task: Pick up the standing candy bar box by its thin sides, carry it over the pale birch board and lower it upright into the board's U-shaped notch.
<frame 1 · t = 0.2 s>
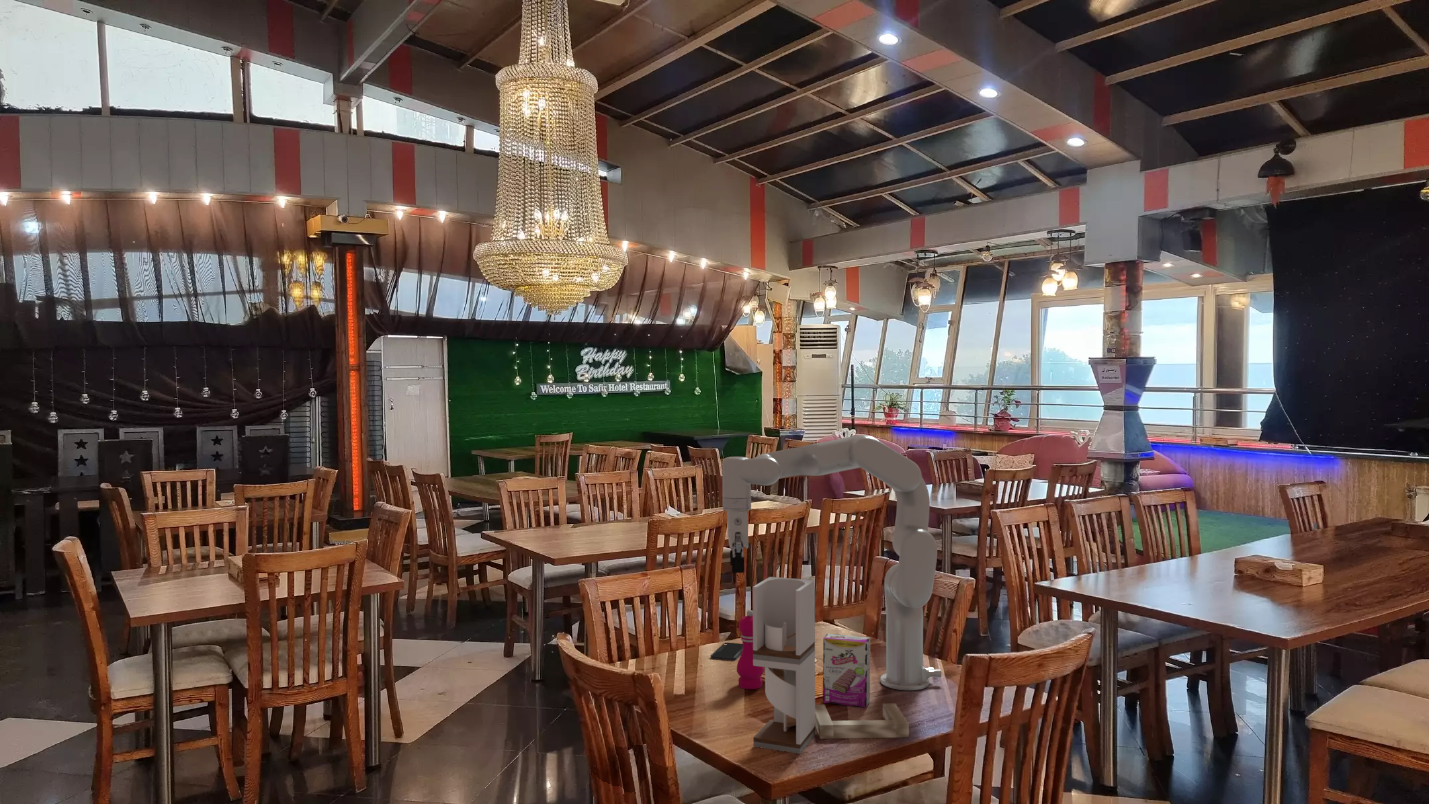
hand: (737, 568, 233), 31 cm above the table, tool pointing down, fingers open, 9 cm apart
pepper mill: (750, 686, 234), on the table
white spiral tower: (784, 741, 197), on the table
notched board: (859, 726, 205), on the table
phone: (729, 654, 264), on the table
candy bar box: (846, 703, 221), on the table
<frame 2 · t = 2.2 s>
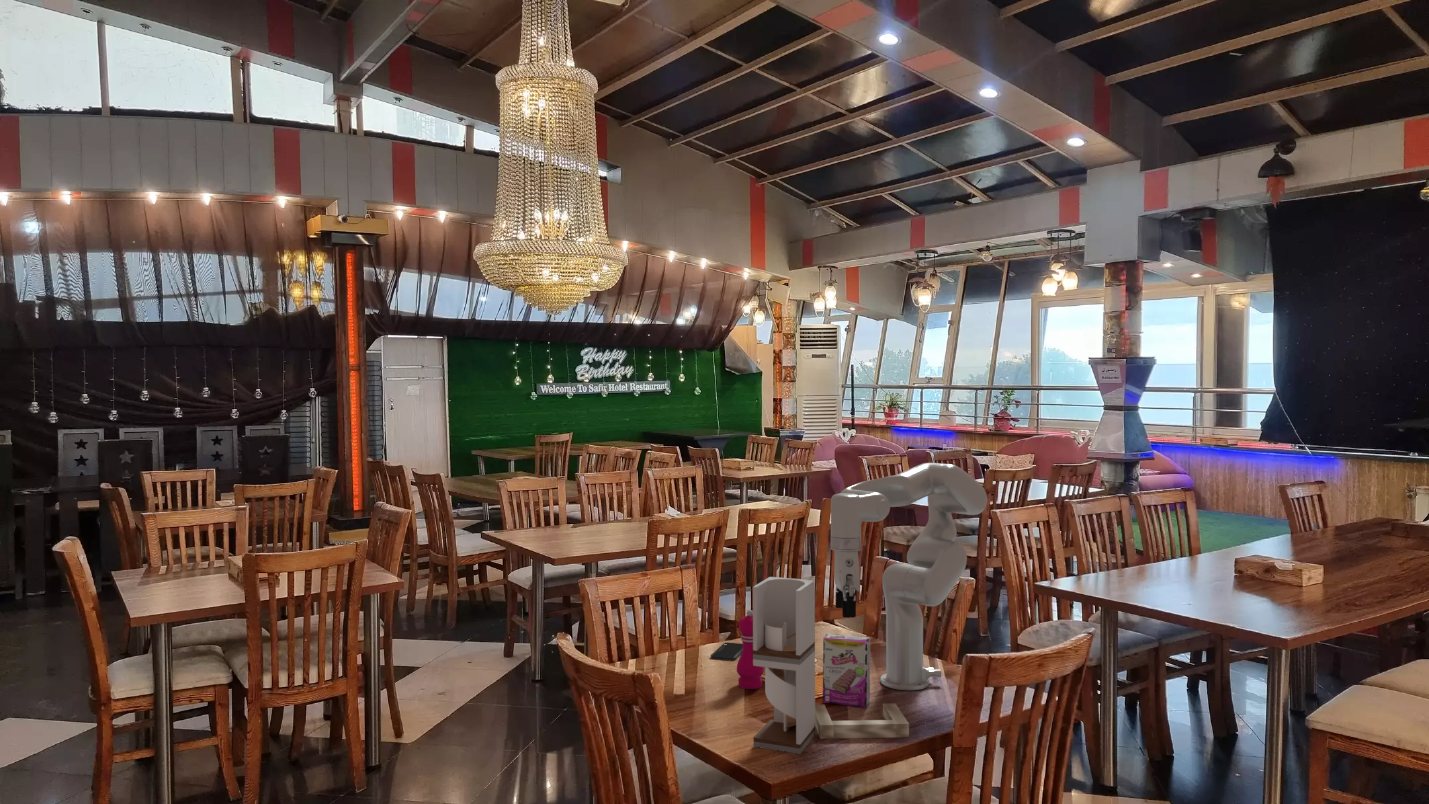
hand: (845, 612, 220), 23 cm above the table, tool pointing down, fingers open, 9 cm apart
nothing on the table moved.
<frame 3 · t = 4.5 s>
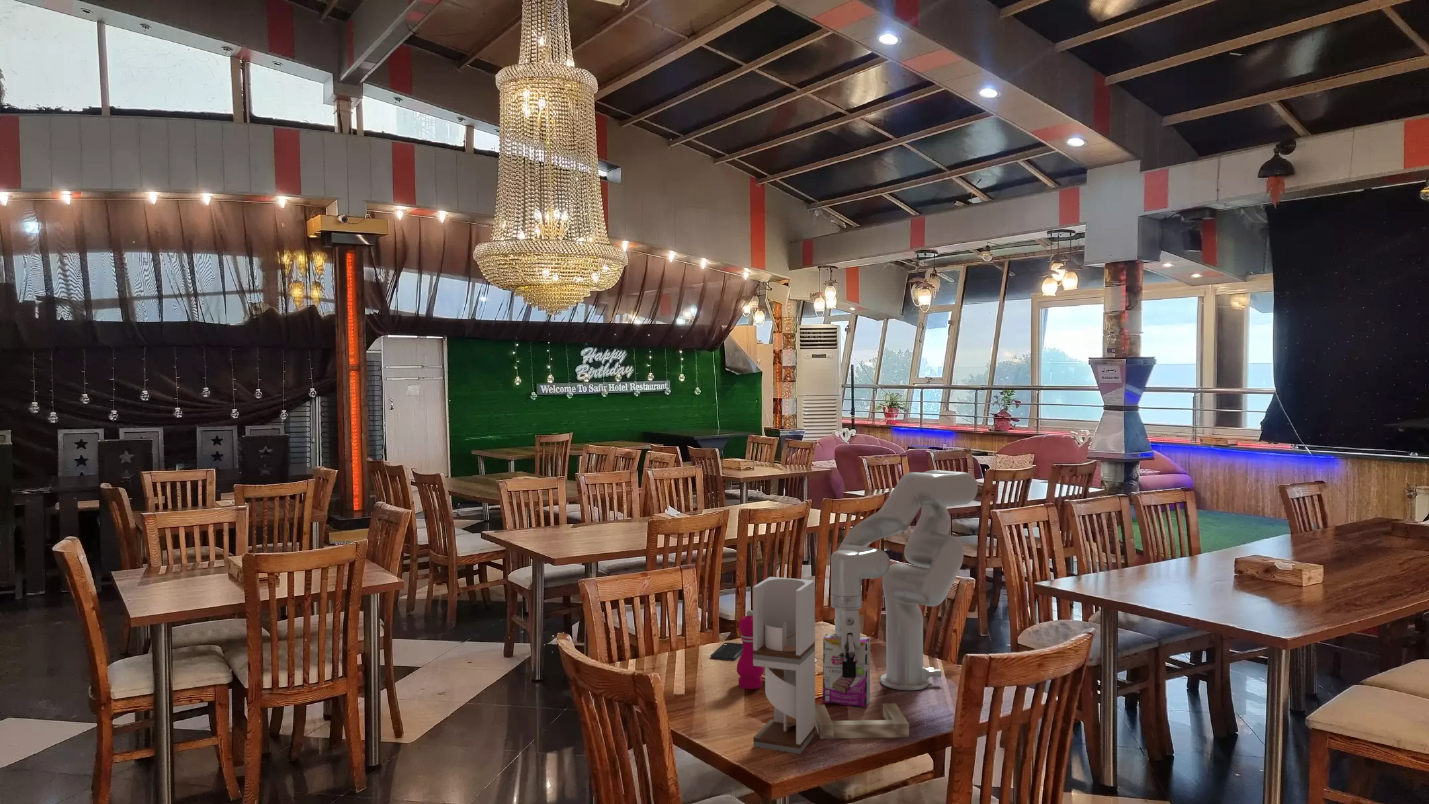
hand: (846, 671, 221), 8 cm above the table, tool pointing down, fingers closed on candy bar box, 6 cm apart
candy bar box: (846, 703, 221), on the table, touching gripper
everything else where it was.
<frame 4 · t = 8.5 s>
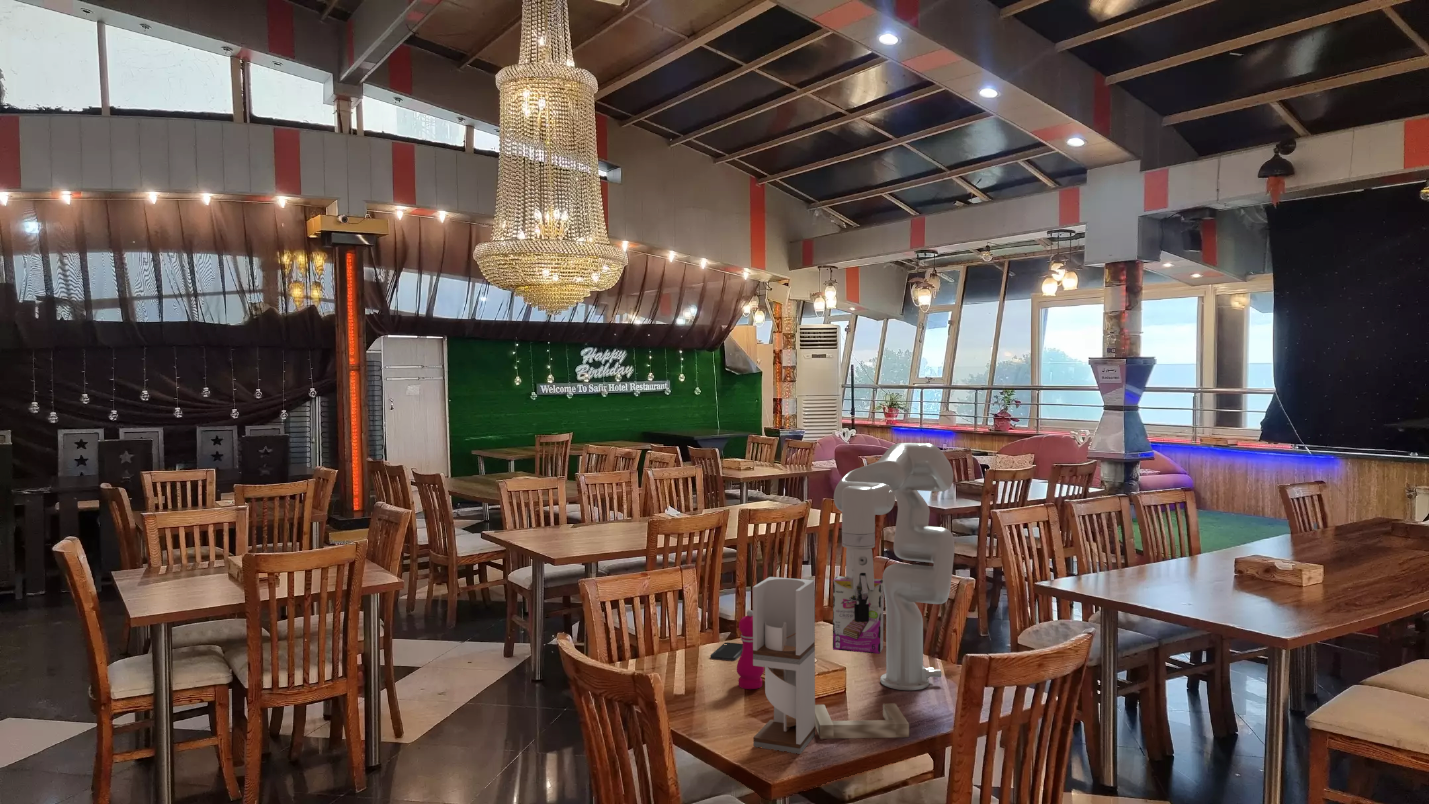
hand: (858, 616, 205), 25 cm above the table, tool pointing down, fingers closed on candy bar box, 6 cm apart
candy bar box: (858, 650, 205), point 18 cm above the table, touching gripper
everything else where it was.
when the fingers open (9 cm above the table, at t = 12.4 s): candy bar box drops 1 cm, on the table.
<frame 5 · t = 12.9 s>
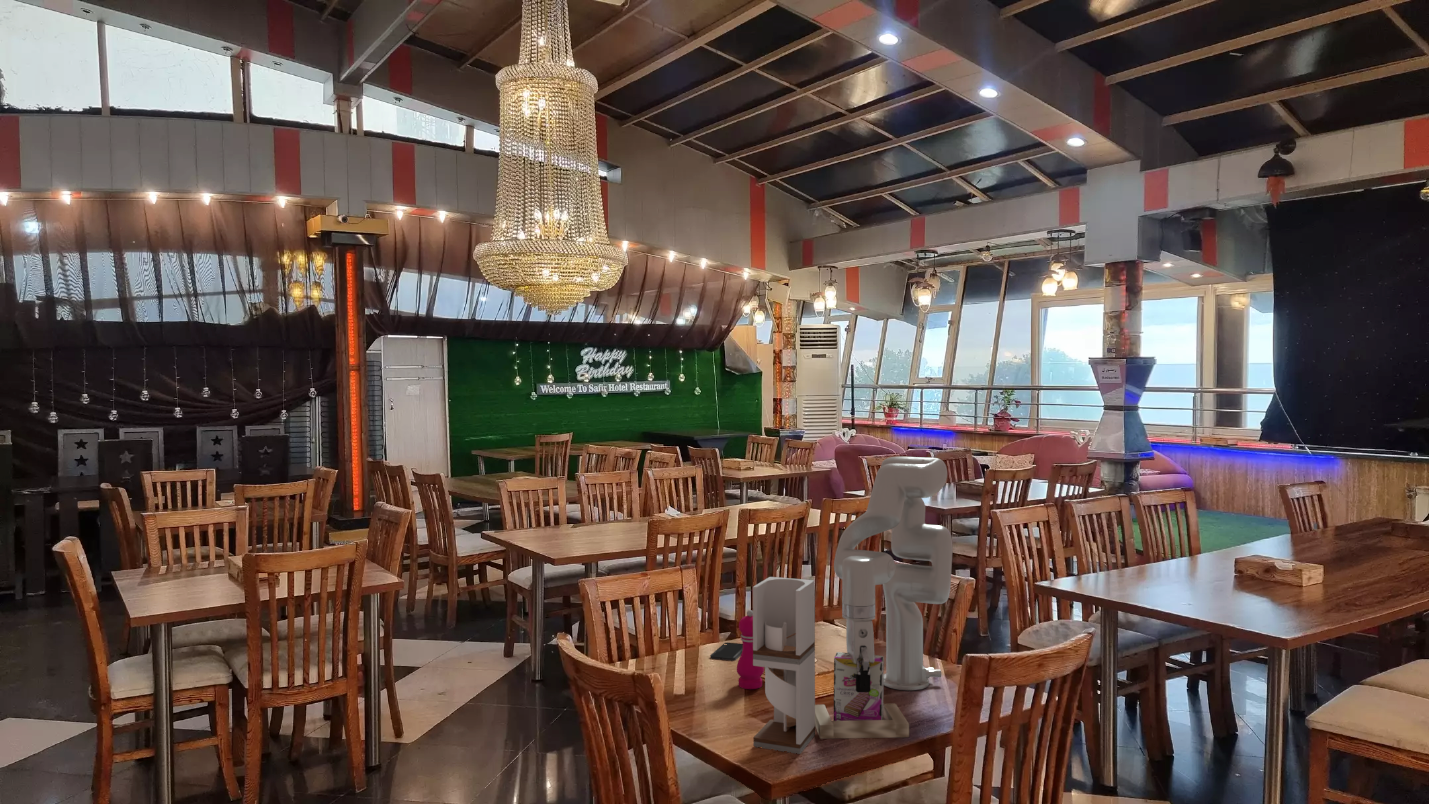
hand: (858, 684, 205), 10 cm above the table, tool pointing down, fingers open, 9 cm apart
candy bar box: (858, 727, 205), on the table
everything else where it was.
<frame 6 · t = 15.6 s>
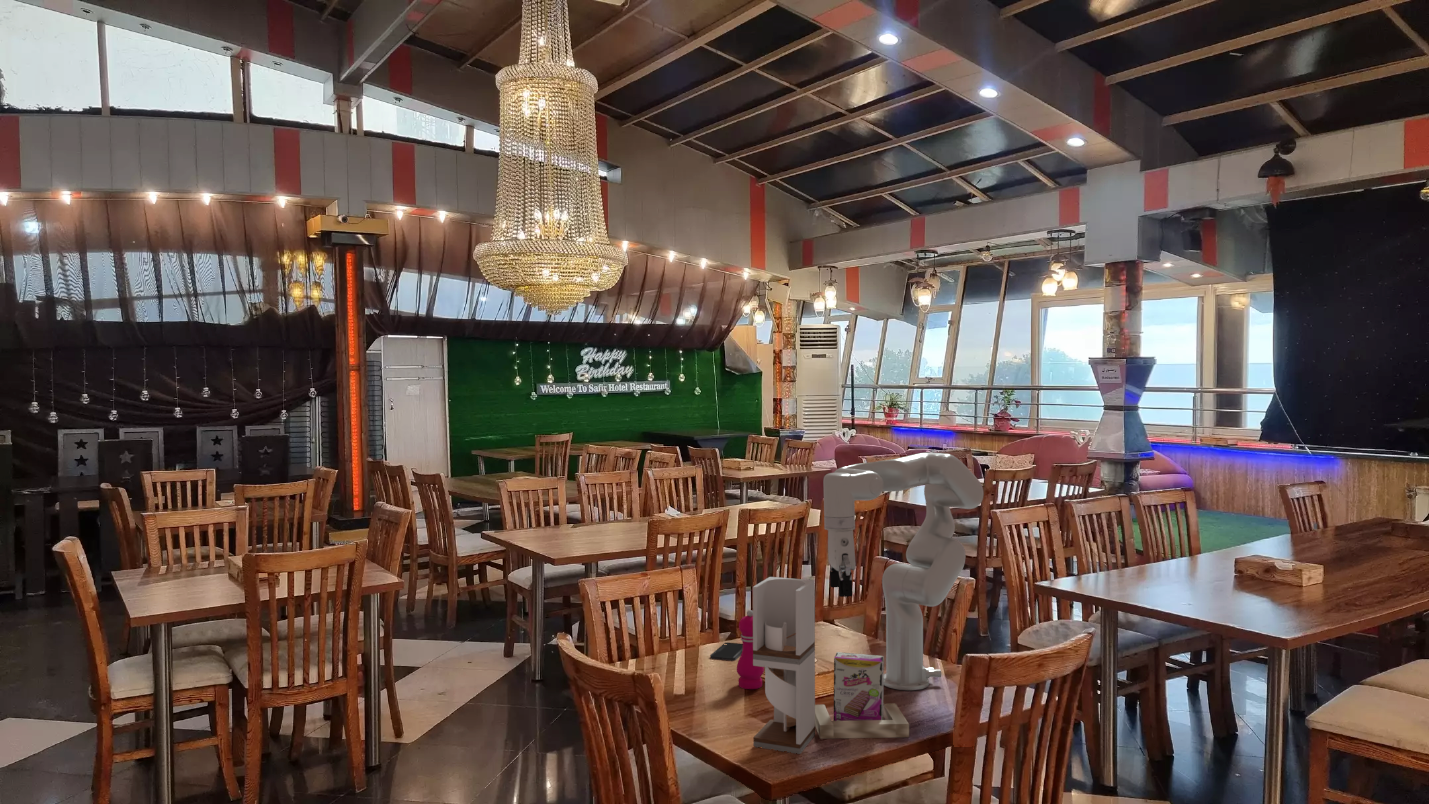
hand: (841, 591, 220), 28 cm above the table, tool pointing down, fingers open, 9 cm apart
nothing on the table moved.
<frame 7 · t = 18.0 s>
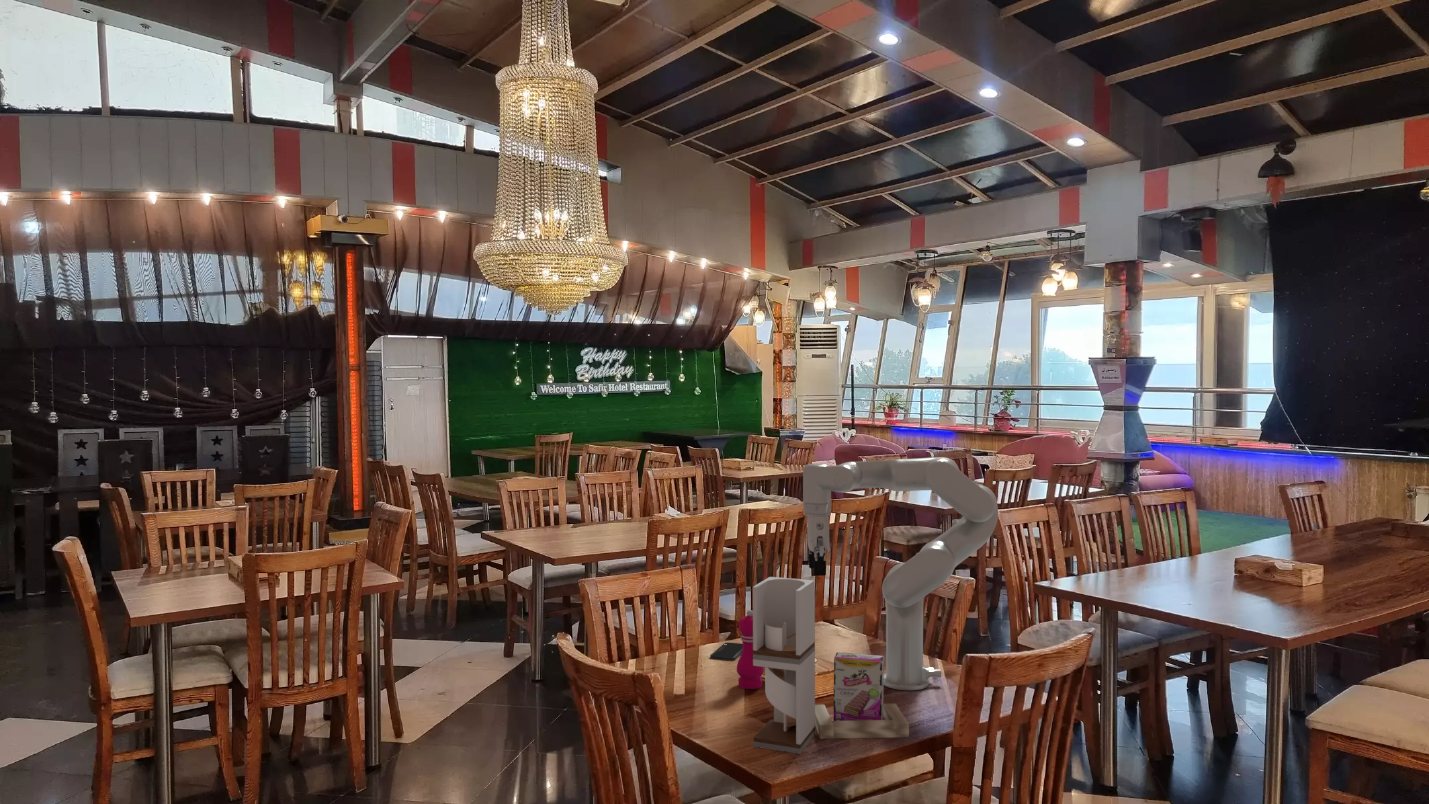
hand: (817, 571, 242), 28 cm above the table, tool pointing down, fingers open, 9 cm apart
nothing on the table moved.
at the end: candy bar box 0.3 cm off-centre on the notched board, point 0.0 cm above the notched board's base; candy bar box tilted 0°; the gripper is holding nothing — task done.
